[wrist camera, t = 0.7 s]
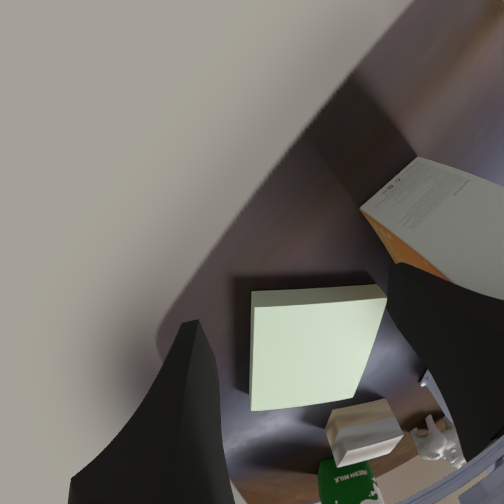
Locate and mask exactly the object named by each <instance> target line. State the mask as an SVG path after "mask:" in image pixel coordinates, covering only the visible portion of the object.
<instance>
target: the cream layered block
mask: <svg viewBox="0 0 504 504" xmlns="http://www.w3.org/2000/svg"><path fill="white" fill-rule="evenodd" d="M325 431H326V434H327V438H328V441H329V444H330V447H331V450H332V453H333V456H334V459H335V463H336V466H337V467H342V466H346V465H350V464H354V463H358V462H361V461H365V460H368V459H372V458H375V457H378V456H382V455H385V454H388V453H390V452H391V451H392V450H393V448H394V447H395V446H396V444H397V443H398V442H399V441H400V439H401V438H402V437H403V435H404V434H403V432H402V430H401V428H400V426H399V424H398V422H397V420H396V418H395V416H394V414H393V412H392V410H391V408H390V406H389V404H388V402H387V400H386V398H384V399H380V400H376V401H372V402H367V403H363V404H358V405H354V406H349V407H344V408H338V409H333V410H332V412H331V415H330V417H329V420H328V422H327V425H326V427H325Z"/></svg>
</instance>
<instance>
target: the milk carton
mask: <svg viewBox="0 0 504 504" xmlns="http://www.w3.org/2000/svg"><path fill="white" fill-rule="evenodd" d="M317 476H318V486H319V496H320V501H321V504H384V501H383V498H382V496H381V493H380V490H379V488H378V485H377V483H376V480H375V477H374V475H373V472H372V470H371V468H370V465H369V463H368V460H365V461H361V462H358V463H354V464H350V465H346V466H342V467H337V466H336V463H335V459H334V458H331V459H327V460H322V461H321V462H320V466H319V471H318V475H317Z"/></svg>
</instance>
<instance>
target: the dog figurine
mask: <svg viewBox="0 0 504 504" xmlns="http://www.w3.org/2000/svg"><path fill="white" fill-rule="evenodd" d="M425 420H426V424H427V427H428V433H427V434H426V435H423V436H419V435H418V434H417V428H415V429H413V430H411V431H410V434H411V436H412V438H413V440H414V442H415V444H416V447H417V451H418V454H419V456H420V457H421V458H423V459H426V460H433V461H434V460H438V459H439V458H442V457H443V458H446V460H447V461H448V463H449V464H450V465H451V466H453V467H454V468H455V469H459V468H460V467H461V466H462V463H463V462H466V460H465V458H464V456H463V453H462V448H461V445H460V441H459V438H458V435H457V431H456V428H455V426H454V423H453V422H451V421H450V420H449V419H448V418H447V417H446V416H444V417H443V421H444V422H445V424H446V430H443V431H439V430H438V429H437V428H436V426H435V424H434V421H433V419H432V415H428V416H427V417H426V418H425Z"/></svg>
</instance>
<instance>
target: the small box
mask: <svg viewBox="0 0 504 504" xmlns="http://www.w3.org/2000/svg"><path fill="white" fill-rule="evenodd" d="M360 211H361V212H362V214H363V215H364V216H365V217H366V219H367V220H368V222H369V223H370V224H371V226H372V227H373V229H374V230H375V232H376V233H377V235H378V236H379V238H380V240H381V241H382V243H383V244H384V246H385V247H386V249H387V251H388V252H389V254H390V256H391V257H392V259H393V261H394V263H395V264H397V263H400V262H404V263H407V264H409V265H412V266H415V267H417V268H419V269H422V270H424V271H426V272H429V273H431V274H433V275H435V276H438V277H440V278H442V279H445V280H447V281H449V282H452V283H454V284H457V285H459V286H462V287H464V288H467V289H469V290H472V291H475V292H478V293H481V294H484V295H487V296H490V297H494V298H497V299H501V300H504V187H503V186H500V185H498V184H495V183H493V182H490V181H488V180H485V179H483V178H480V177H478V176H475V175H472V174H470V173H467V172H464V171H461V170H458V169H456V168H453V167H450V166H447V165H444V164H441V163H438V162H434V161H431V160H428V159H425V158H422V157H417V158H415V159H414V160H413V161H412V162H411V163H410V164H409V165H407V166H406V167H405V168H404V169H403V170H402V171H401V172H400V173H399V174H397V175H396V176H395V177H394V178H393V179H392V180H391V181H389V182H388V183H387V184H386V185H385V186H384V187H383V188H382V189H380V190H379V191H378V192H377V193H376V194H375V195H374V196H373V197H371V198H370V199H369V200H368V201H367V202H366V203H365V204H363V205H362V206H361V207H360Z"/></svg>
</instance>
